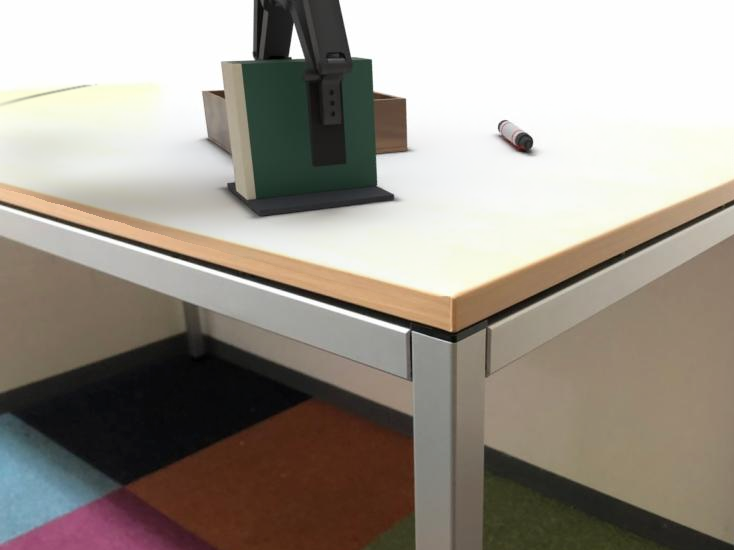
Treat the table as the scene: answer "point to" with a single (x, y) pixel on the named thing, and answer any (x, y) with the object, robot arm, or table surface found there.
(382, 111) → the box
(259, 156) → the book
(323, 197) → the mat
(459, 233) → the table surface
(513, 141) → the marker
